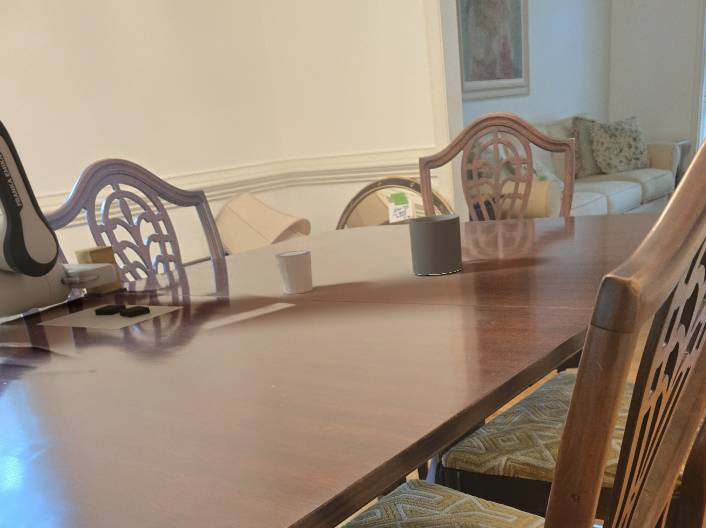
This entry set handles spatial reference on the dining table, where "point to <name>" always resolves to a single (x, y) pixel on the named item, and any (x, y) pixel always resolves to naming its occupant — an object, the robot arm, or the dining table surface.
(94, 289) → the eraser
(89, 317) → the note board
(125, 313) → the flat black square block
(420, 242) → the coffee mug
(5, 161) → the robot arm
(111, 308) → the smudge
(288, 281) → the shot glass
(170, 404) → the dining table surface
